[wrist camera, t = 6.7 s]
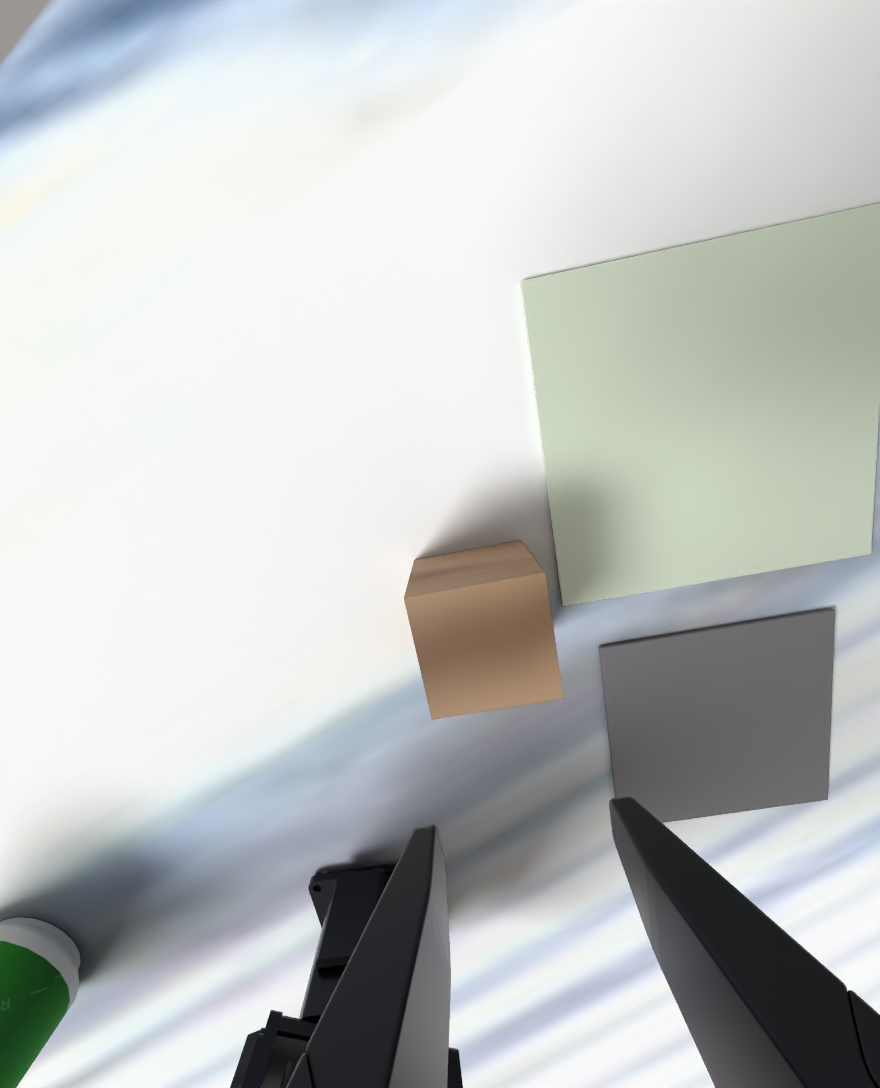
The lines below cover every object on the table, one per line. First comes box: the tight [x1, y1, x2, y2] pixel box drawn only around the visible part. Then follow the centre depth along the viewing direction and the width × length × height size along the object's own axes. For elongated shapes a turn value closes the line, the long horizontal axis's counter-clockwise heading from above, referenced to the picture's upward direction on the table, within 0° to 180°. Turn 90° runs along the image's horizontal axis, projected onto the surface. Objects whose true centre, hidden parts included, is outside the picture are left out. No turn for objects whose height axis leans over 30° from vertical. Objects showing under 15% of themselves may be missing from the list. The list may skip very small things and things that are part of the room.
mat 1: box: [521, 203, 880, 607], centre depth 17 cm, size 14×14×1 cm
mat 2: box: [599, 608, 835, 823], centre depth 21 cm, size 11×11×1 cm
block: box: [404, 540, 563, 720], centre depth 17 cm, size 5×5×5 cm
